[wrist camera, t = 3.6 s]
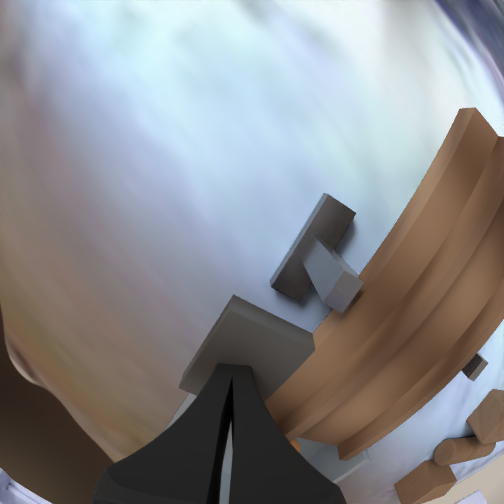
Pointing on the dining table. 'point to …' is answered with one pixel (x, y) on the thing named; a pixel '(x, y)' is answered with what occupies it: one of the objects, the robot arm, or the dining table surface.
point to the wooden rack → (386, 311)
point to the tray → (312, 451)
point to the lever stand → (330, 265)
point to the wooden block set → (455, 453)
